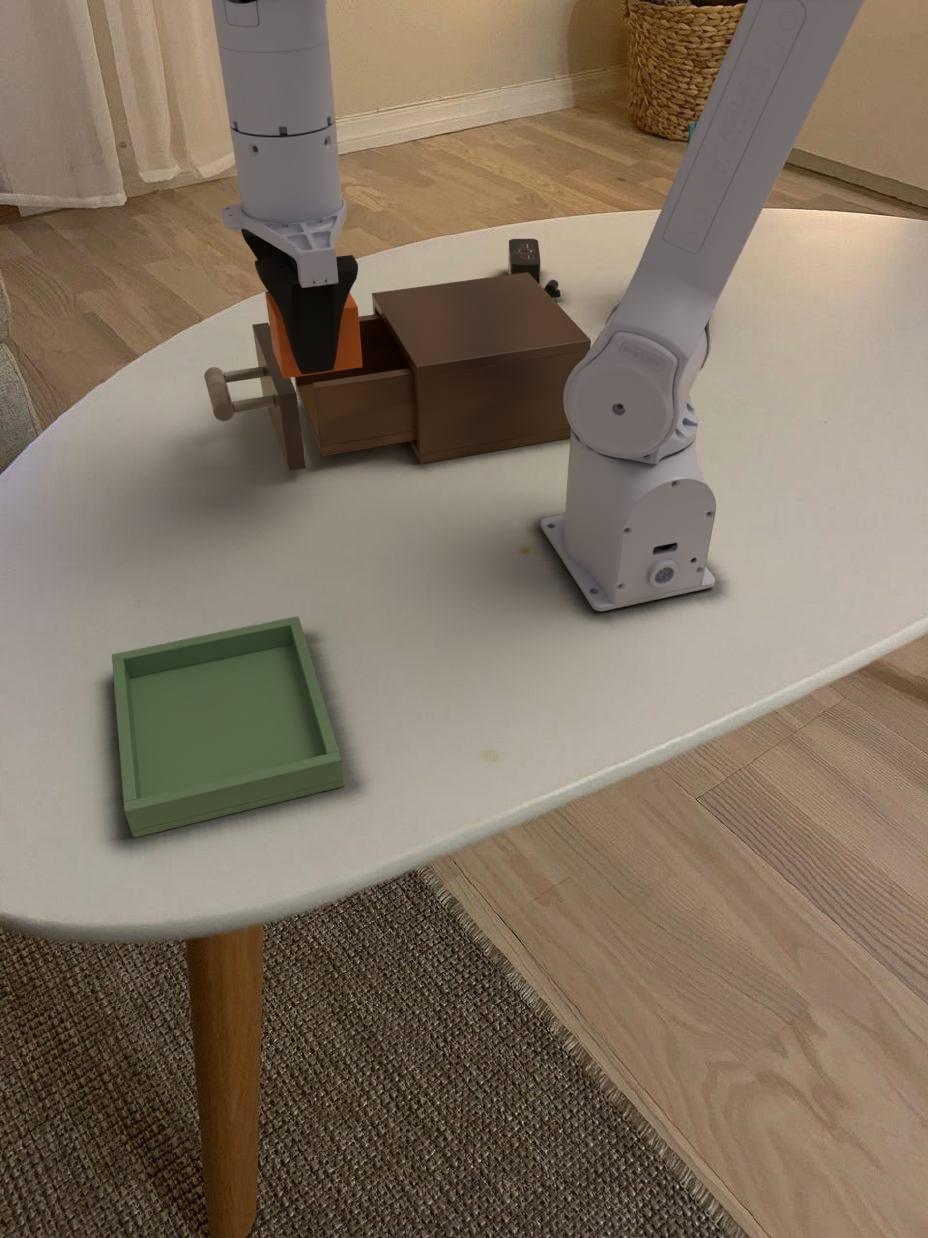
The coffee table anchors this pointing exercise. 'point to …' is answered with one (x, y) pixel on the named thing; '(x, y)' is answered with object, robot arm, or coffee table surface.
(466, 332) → the cabinet
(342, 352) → the matte orange cube
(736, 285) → the coffee table surface
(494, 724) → the coffee table surface
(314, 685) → the tray
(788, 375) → the coffee table surface
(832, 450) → the coffee table surface
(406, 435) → the drawer
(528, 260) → the wireless earbuds
